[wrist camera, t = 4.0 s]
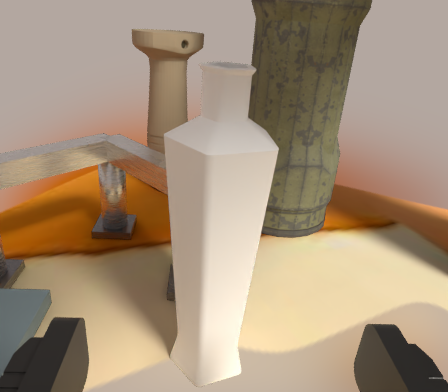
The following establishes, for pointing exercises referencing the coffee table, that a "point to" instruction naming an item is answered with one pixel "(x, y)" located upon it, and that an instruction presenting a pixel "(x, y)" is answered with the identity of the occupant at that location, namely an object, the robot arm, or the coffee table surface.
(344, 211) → the coffee table surface
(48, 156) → the bent rail
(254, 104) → the thermos
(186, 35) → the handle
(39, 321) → the slate mat
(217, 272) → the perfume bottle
